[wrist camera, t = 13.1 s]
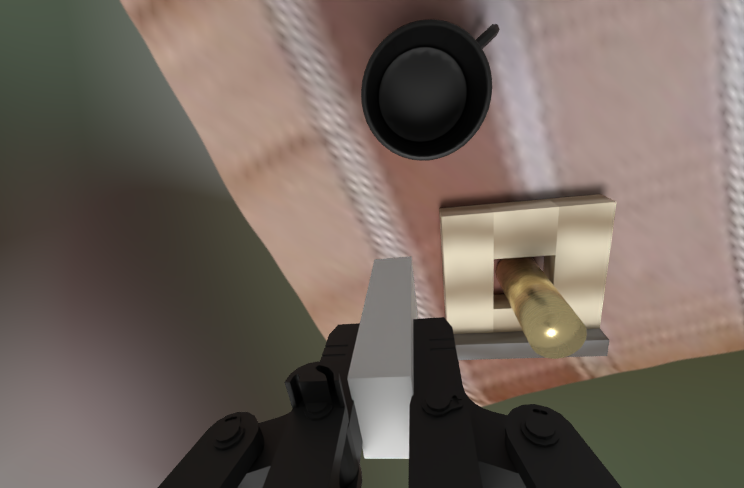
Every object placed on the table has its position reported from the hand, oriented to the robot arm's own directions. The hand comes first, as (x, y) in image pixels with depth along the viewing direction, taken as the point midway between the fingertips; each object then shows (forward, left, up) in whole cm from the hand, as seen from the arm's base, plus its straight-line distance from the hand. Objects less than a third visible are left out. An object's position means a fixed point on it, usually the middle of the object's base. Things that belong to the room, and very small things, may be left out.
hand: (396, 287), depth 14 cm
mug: (-8, +3, -24) cm, 26 cm away
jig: (+12, +11, -24) cm, 29 cm away
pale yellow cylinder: (+12, +11, -24) cm, 29 cm away
